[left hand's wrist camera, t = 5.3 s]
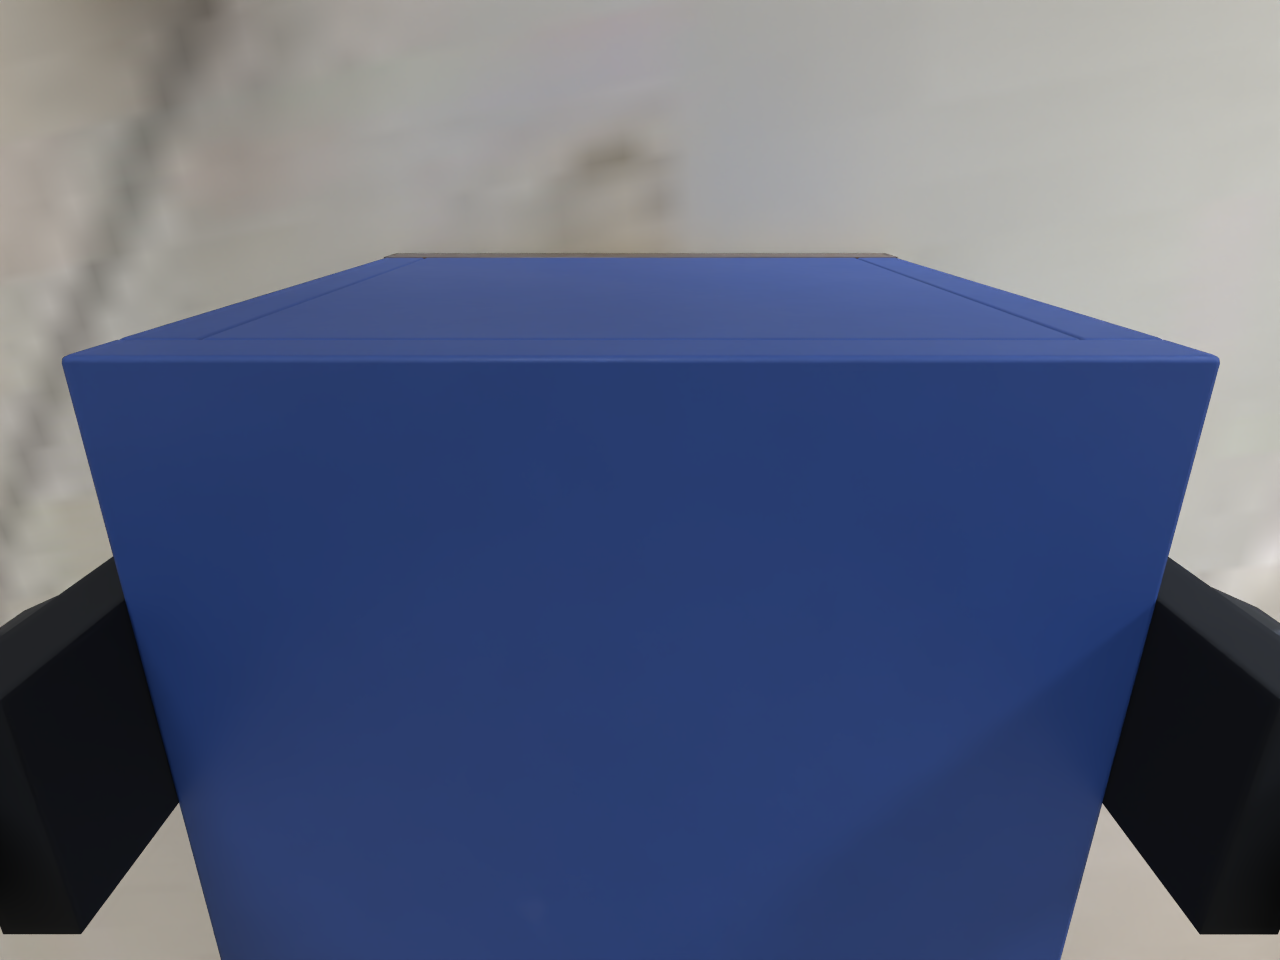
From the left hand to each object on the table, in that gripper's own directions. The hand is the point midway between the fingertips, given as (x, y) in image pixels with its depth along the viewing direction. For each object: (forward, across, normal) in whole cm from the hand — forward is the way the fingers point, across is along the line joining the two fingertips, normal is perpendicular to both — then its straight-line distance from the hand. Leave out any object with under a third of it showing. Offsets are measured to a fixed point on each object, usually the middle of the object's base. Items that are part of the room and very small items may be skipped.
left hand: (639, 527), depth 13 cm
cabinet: (+6, 0, -7) cm, 9 cm away
